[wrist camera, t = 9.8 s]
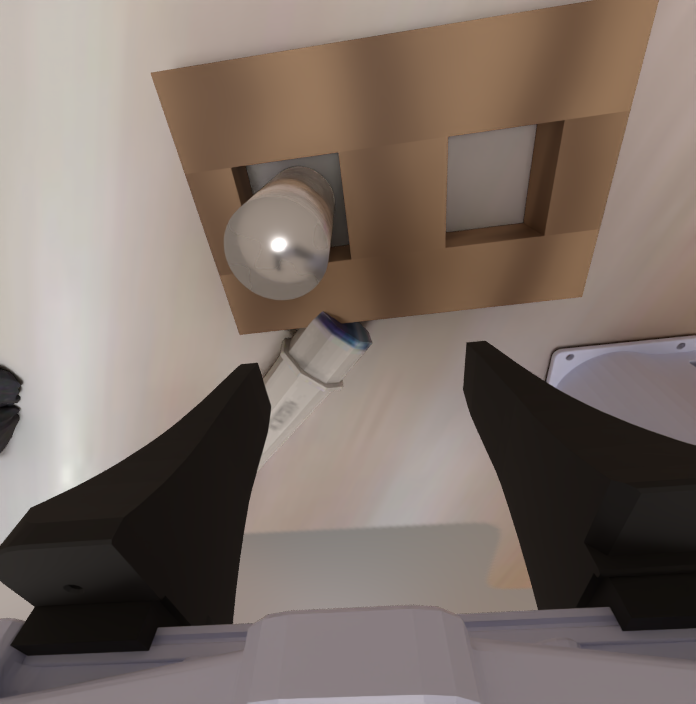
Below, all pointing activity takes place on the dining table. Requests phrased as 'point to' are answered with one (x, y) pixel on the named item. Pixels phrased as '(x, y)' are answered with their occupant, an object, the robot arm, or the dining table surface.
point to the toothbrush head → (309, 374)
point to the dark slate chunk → (8, 406)
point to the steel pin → (283, 235)
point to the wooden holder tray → (421, 154)
